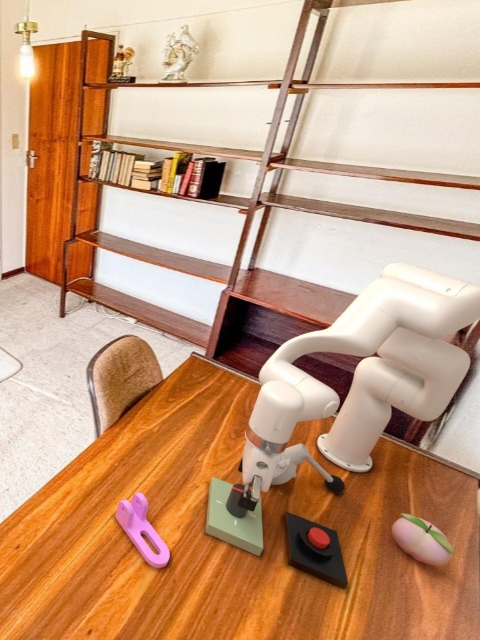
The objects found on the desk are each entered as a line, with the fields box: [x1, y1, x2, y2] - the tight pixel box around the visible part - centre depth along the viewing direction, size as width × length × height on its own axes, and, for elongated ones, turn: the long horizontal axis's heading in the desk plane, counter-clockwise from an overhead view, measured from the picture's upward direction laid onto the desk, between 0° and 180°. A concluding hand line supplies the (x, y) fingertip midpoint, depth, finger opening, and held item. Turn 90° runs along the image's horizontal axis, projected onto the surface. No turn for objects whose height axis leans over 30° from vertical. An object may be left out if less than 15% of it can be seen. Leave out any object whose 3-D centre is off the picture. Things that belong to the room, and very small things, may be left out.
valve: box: [270, 443, 346, 494], centre depth 102 cm, size 10×20×15 cm
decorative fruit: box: [391, 512, 456, 567], centre depth 86 cm, size 9×8×10 cm
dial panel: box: [205, 476, 264, 557], centre depth 93 cm, size 14×11×3 cm
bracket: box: [115, 491, 171, 569], centre depth 87 cm, size 13×6×7 cm, turn 26°
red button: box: [308, 528, 330, 549], centre depth 86 cm, size 4×4×2 cm
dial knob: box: [226, 483, 252, 518], centre depth 91 cm, size 4×4×6 cm
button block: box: [283, 511, 349, 590], centre depth 87 cm, size 12×10×4 cm
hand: (245, 489), depth 90 cm, fingers open, 9 cm apart
